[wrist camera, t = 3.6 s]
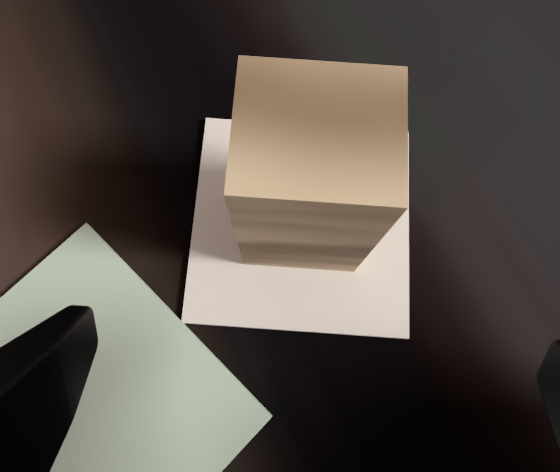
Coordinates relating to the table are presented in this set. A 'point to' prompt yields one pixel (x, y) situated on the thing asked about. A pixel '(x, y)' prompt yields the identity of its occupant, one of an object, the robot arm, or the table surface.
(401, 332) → the tile
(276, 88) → the oak block
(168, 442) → the felt mat
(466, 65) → the table surface
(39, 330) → the robot arm
